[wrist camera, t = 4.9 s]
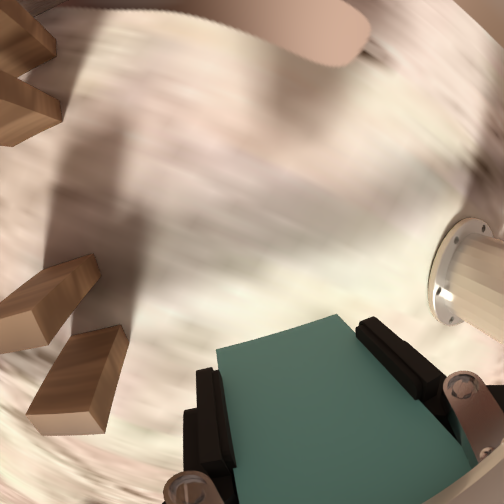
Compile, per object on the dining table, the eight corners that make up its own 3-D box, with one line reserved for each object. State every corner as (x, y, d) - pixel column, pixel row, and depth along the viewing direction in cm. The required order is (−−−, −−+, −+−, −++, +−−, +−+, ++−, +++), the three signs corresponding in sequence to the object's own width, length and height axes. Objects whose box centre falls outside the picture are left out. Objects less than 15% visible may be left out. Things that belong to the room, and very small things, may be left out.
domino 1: (8, 66, 14) (-60, 30, 4) (56, 39, 14) (-1, -16, 5) (8, 83, 14) (-64, 52, 5) (56, 56, 15) (-6, 3, 5)
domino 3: (42, 269, 19) (-28, 326, 9) (93, 253, 19) (31, 310, 10) (50, 290, 19) (-13, 356, 10) (101, 275, 20) (48, 345, 10)
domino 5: (215, 349, 11) (268, 622, 1) (336, 313, 12) (512, 503, 2) (228, 383, 12) (283, 619, 2) (340, 348, 12) (481, 528, 2)
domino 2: (10, 126, 15) (-72, 111, 6) (59, 100, 16) (-15, 62, 7) (12, 146, 16) (-72, 140, 6) (62, 121, 17) (-17, 93, 7)
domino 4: (71, 335, 21) (25, 414, 11) (120, 324, 21) (88, 411, 12) (80, 353, 21) (41, 435, 12) (129, 343, 22) (104, 433, 12)
